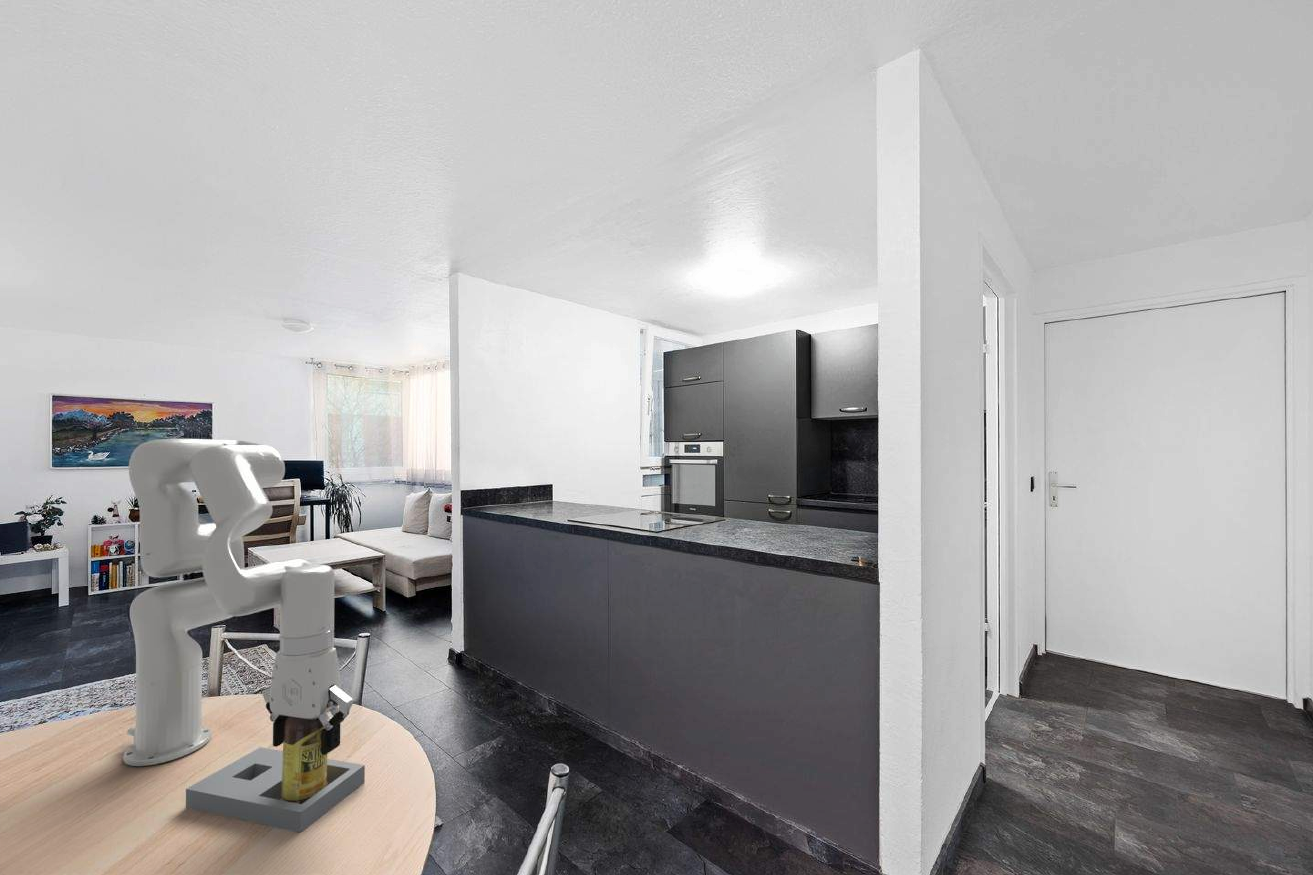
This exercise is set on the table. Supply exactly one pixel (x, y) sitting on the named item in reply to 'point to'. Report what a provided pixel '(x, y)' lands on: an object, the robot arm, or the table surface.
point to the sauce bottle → (303, 760)
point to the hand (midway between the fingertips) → (306, 746)
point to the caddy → (270, 791)
